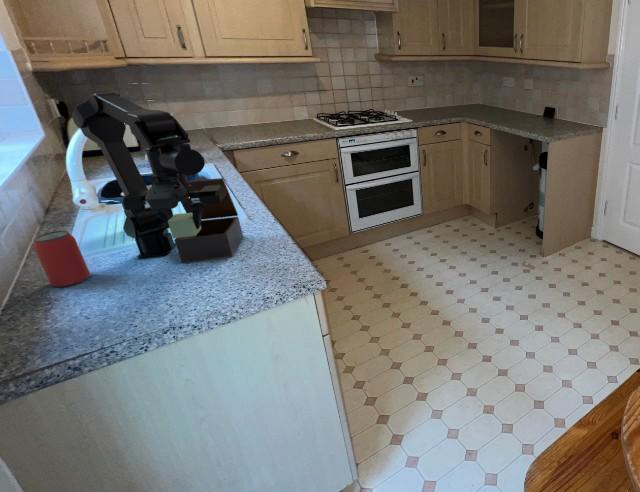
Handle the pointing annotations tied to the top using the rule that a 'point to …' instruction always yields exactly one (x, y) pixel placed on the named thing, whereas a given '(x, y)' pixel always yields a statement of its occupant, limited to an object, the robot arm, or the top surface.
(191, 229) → the block
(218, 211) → the box lid
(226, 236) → the storage box
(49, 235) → the beer can
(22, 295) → the top surface
